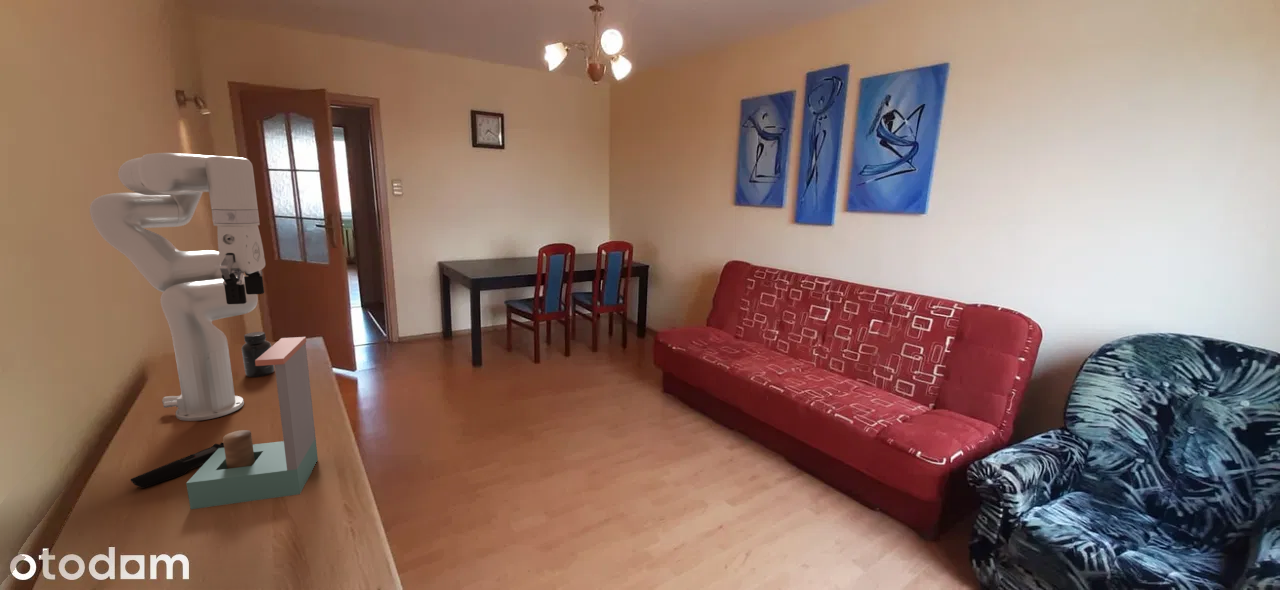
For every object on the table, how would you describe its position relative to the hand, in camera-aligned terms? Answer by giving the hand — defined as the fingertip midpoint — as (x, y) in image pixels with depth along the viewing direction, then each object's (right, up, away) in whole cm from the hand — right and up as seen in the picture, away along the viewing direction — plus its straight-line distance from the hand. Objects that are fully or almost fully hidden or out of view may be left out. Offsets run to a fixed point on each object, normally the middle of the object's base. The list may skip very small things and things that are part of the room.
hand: (246, 298), depth 107 cm
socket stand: (+13, -34, -14) cm, 39 cm away
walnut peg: (+11, -34, -14) cm, 39 cm away
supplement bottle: (-26, -22, +38) cm, 51 cm away
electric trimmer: (-3, -34, -10) cm, 35 cm away
